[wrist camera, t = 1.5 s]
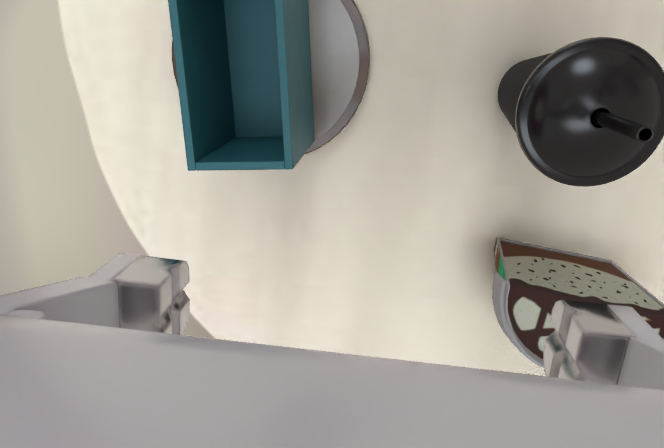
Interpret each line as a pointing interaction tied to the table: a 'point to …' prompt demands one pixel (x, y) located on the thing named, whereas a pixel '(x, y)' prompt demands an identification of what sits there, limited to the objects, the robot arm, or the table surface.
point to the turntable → (334, 65)
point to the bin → (243, 82)
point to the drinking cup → (586, 110)
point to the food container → (558, 291)
